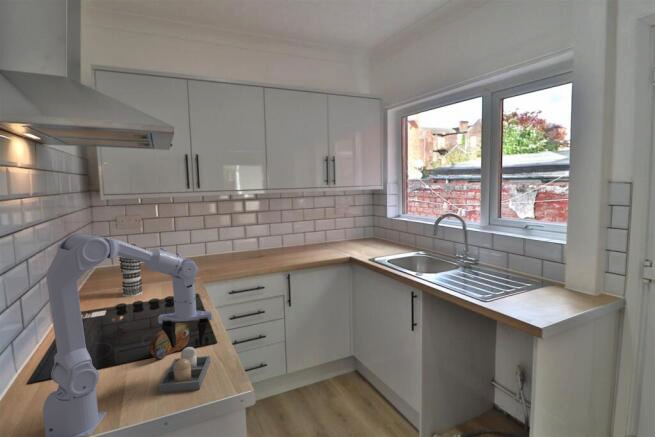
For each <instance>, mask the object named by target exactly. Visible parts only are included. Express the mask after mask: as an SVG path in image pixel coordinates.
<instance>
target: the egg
mask: <svg viewBox="0 0 655 437" xmlns="http://www.w3.org/2000/svg"><path fill="white" fill-rule="evenodd" d="M197 357H198V356H197V350H196V349H195V348H194V347H193V346H187V347H184V348H182V351H181V353H180V358H181V359H182V358H185V359H188V360H189V361H190V364H191V369H192V368H197Z"/></svg>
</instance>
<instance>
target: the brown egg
mask: <svg viewBox="0 0 655 437" xmlns="http://www.w3.org/2000/svg"><path fill="white" fill-rule="evenodd" d="M174 376H175V383H176V382H188V381H192V378H191V364H190V361H189V360H188V359H185V358H182V359H179V360H178V361H177V362H176V363H175V365H174Z"/></svg>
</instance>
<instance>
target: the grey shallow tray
mask: <svg viewBox="0 0 655 437" xmlns="http://www.w3.org/2000/svg"><path fill="white" fill-rule="evenodd" d="M179 359H181V357H180V358H174V359H173V361H172V362H171V364H170V366H169V367H168V368H167V371H166V373H165V374H164V376H163V378H162V379H161V380H160V382H159V384H158V392H159V394H162V393H163V394H164V393H176V392H184V391H185V392H186V391H196V390H198V391H199V390H201V387H202V385H203V382H204V380H205V377H206V375H207V373H208V369H209V367H210V365H211V356H210V355H205V356H197V368H192V369H191V378H192V381H188V382H176V383H175V376H174V365H175V363H176V362H177V361H178V360H179Z"/></svg>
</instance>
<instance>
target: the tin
mask: <svg viewBox="0 0 655 437" xmlns="http://www.w3.org/2000/svg"><path fill="white" fill-rule="evenodd" d="M175 334H176V345H175V347H173V348H172V347H171V343H170V341H169V339H168V337H167V335H166V333H165V332H164V331H163V330H162V329H161V331H158V332H157V333H156V334H154V335H153V337H152V339H151V340H150V344H149V345H150V346H149V347H150V348H149V350H150V355H151V356H152V357H153V358H155V359H159V360H163V359H165V358H166V357H167V356H169V355H171V354H172V353H174V352H175V351H181V350H183V349H185V348H186V346H187V345H188V344H189V342H190V339H191V337H192V330H191V327H190V325H189V324H188V323H186V322H177V323H176V324H175Z"/></svg>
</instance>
